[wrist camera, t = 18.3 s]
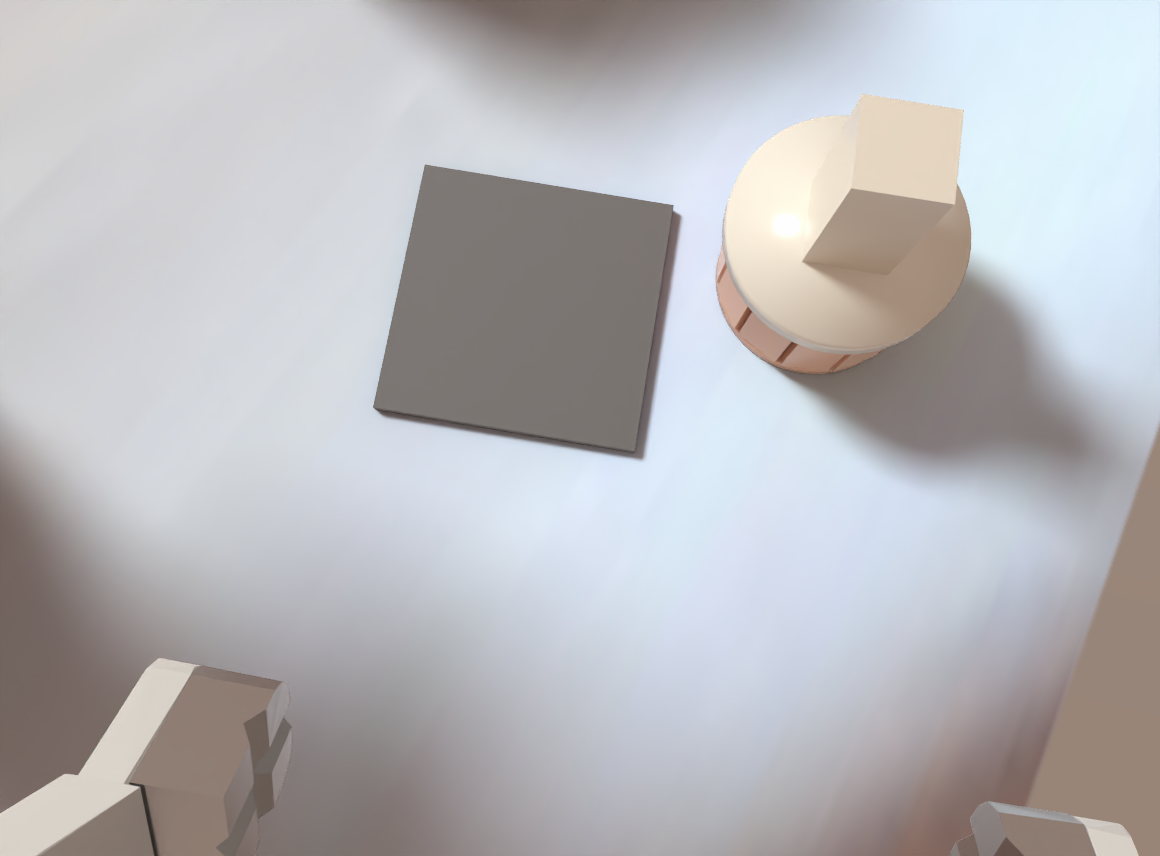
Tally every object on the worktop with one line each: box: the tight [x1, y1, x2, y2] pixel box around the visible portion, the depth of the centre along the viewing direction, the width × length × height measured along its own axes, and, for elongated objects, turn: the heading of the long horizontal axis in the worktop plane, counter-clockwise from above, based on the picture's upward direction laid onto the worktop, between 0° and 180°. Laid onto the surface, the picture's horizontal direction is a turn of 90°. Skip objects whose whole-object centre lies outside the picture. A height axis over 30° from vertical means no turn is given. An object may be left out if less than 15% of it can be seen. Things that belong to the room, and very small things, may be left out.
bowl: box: [716, 242, 883, 374], centre depth 43 cm, size 9×9×5 cm
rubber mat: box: [373, 165, 674, 453], centre depth 45 cm, size 12×12×1 cm
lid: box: [722, 94, 971, 355], centre depth 36 cm, size 10×10×8 cm
